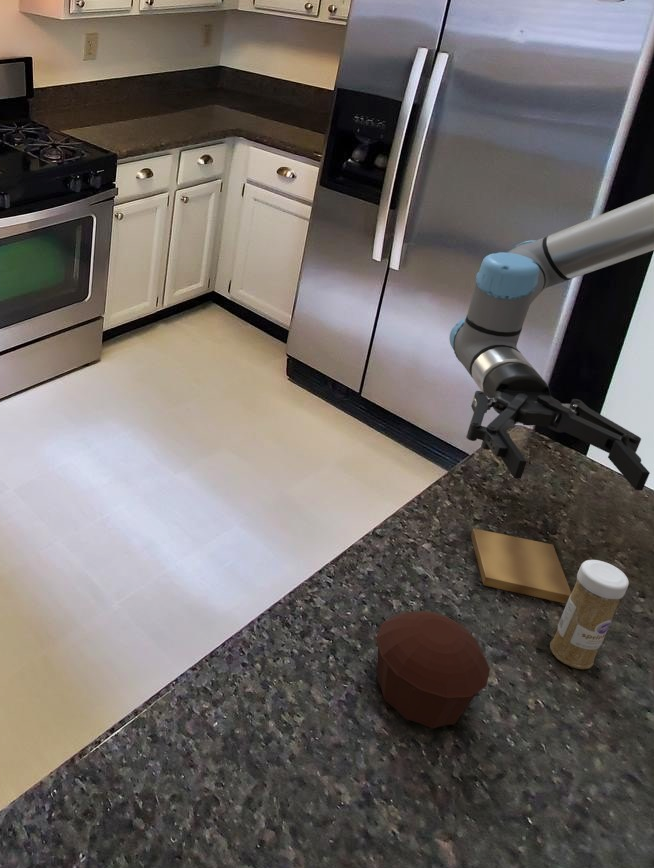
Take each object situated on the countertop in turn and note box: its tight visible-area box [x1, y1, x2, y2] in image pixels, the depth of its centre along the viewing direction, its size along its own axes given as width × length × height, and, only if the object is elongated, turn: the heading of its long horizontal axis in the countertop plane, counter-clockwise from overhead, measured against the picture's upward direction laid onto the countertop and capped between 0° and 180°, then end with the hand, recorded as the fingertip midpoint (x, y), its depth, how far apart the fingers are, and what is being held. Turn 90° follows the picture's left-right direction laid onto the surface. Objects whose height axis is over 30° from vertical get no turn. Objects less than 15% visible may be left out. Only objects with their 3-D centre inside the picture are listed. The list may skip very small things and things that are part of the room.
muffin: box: [375, 610, 491, 729], centre depth 91 cm, size 12×11×10 cm
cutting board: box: [470, 527, 572, 605], centre depth 110 cm, size 10×10×2 cm
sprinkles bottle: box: [549, 559, 630, 670], centre depth 94 cm, size 5×5×14 cm
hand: (581, 475), depth 97 cm, fingers open, 13 cm apart
